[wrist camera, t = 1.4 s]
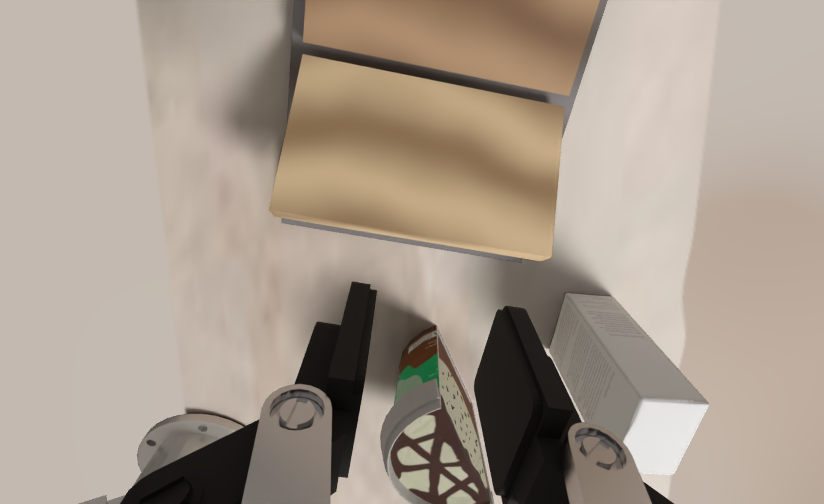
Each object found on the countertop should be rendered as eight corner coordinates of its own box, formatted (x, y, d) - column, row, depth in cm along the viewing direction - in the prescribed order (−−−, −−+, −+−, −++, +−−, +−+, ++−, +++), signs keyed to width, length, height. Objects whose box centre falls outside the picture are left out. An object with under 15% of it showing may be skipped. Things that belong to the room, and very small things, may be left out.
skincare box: (595, 353, 36) (674, 478, 26) (547, 349, 36) (607, 474, 25) (616, 293, 34) (714, 404, 23) (564, 289, 34) (639, 399, 23)
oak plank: (540, 261, 25) (551, 257, 24) (274, 216, 24) (268, 209, 22) (553, 118, 27) (564, 106, 26) (306, 69, 26) (302, 54, 24)
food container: (362, 335, 35) (347, 429, 26) (430, 311, 34) (437, 401, 25) (416, 431, 40) (419, 540, 31) (477, 413, 39) (497, 519, 30)
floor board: (517, 257, 32) (526, 271, 30) (285, 218, 31) (275, 230, 29) (616, -49, 24) (638, -60, 22) (305, -122, 23) (294, -142, 20)
